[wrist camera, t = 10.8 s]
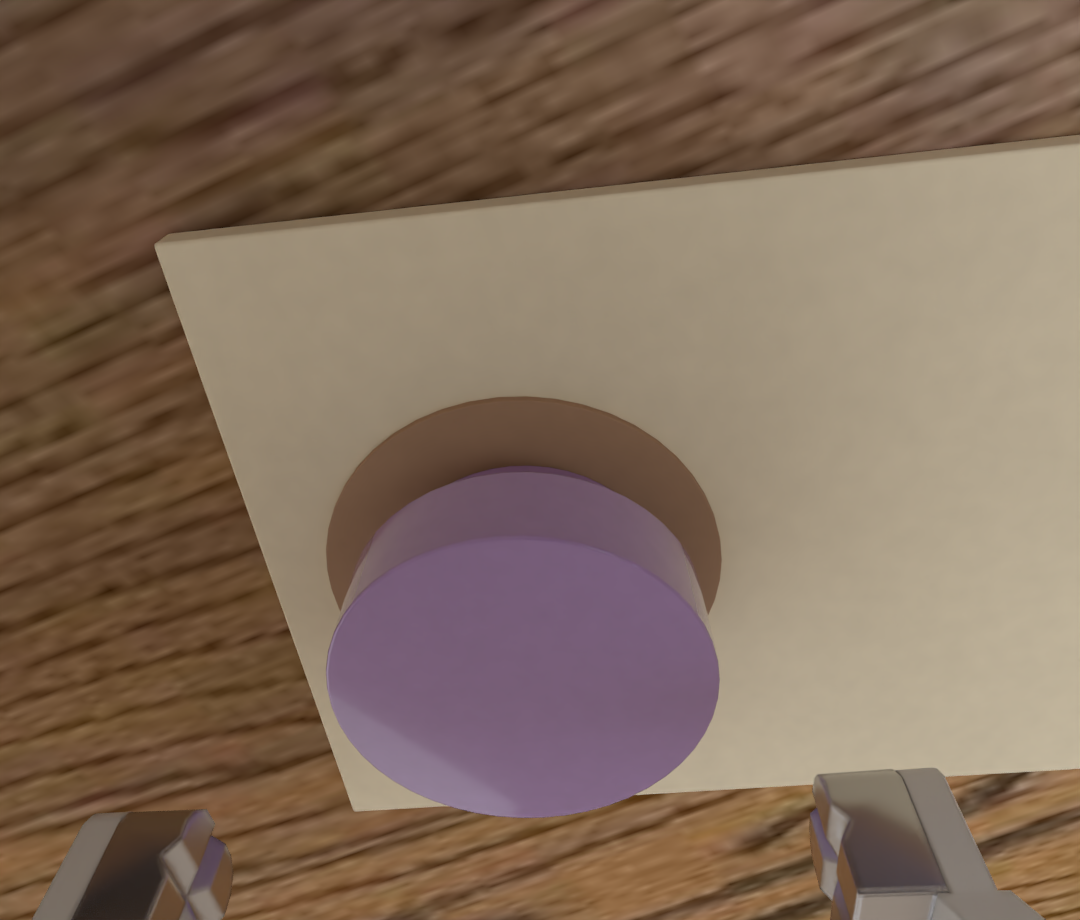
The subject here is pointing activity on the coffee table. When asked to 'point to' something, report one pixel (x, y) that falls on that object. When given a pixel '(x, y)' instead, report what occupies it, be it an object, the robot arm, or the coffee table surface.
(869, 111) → the coffee table surface
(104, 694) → the coffee table surface
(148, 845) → the robot arm
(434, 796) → the lavender hockey puck
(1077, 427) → the mat
